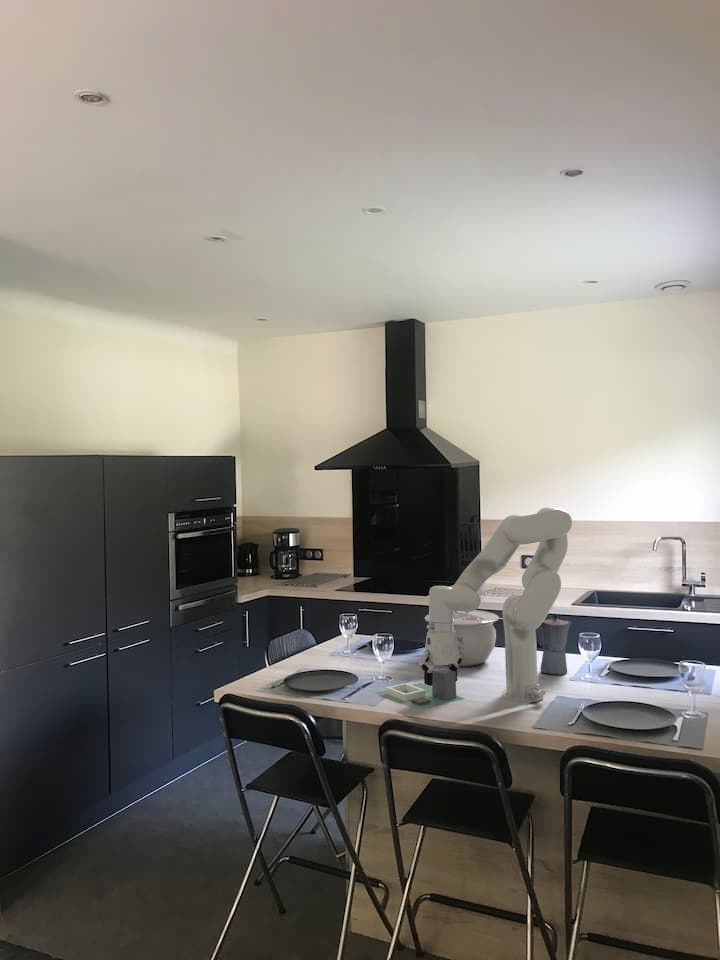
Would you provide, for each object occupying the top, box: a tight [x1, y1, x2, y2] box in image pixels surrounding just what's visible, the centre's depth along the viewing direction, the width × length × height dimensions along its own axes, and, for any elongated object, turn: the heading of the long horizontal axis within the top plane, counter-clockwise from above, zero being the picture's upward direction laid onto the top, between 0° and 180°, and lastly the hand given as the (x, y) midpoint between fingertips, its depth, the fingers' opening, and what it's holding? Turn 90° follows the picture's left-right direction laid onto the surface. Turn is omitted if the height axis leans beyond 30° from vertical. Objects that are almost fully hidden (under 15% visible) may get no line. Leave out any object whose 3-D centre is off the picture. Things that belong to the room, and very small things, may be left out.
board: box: [375, 682, 466, 711], centre depth 233 cm, size 22×18×3 cm
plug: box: [431, 667, 457, 701], centre depth 231 cm, size 7×4×8 cm, turn 33°
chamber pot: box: [424, 609, 500, 668], centre depth 278 cm, size 28×28×21 cm
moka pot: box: [536, 613, 572, 675], centre depth 260 cm, size 10×15×20 cm, turn 112°
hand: (440, 682), depth 231 cm, fingers open, 9 cm apart
